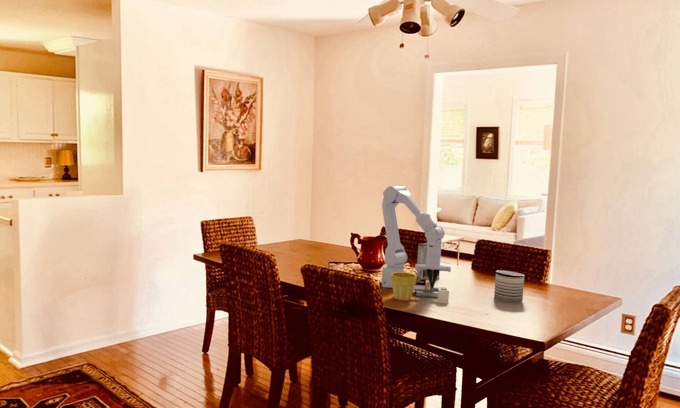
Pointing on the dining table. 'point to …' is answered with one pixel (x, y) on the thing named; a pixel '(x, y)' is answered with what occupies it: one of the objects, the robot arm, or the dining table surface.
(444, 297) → the plug
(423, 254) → the coffee box
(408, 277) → the plant pot
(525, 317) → the dining table surface
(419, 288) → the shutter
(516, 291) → the can
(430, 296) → the socket plate
